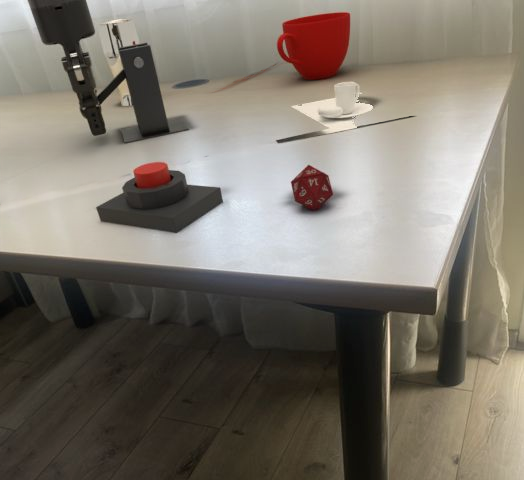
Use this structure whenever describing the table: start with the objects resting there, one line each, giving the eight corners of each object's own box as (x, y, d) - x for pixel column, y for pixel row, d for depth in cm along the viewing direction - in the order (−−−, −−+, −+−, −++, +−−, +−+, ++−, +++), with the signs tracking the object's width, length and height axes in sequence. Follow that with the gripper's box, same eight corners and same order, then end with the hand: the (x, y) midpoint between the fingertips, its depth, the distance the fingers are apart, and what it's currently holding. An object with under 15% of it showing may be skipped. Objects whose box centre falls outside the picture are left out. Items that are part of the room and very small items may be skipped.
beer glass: (154, 101, 109) (134, 16, 100) (154, 108, 103) (133, 18, 94) (120, 108, 108) (97, 22, 100) (119, 115, 103) (94, 25, 94)
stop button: (130, 189, 56) (125, 172, 55) (153, 177, 58) (149, 161, 57) (156, 191, 54) (151, 174, 53) (178, 179, 56) (174, 162, 55)
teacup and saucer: (323, 125, 77) (321, 95, 74) (308, 114, 83) (306, 86, 81) (381, 114, 77) (381, 83, 75) (361, 103, 84) (361, 75, 81)
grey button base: (100, 221, 58) (90, 190, 56) (149, 194, 63) (141, 165, 61) (177, 233, 52) (168, 199, 50) (223, 202, 58) (217, 170, 56)
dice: (298, 219, 51) (294, 178, 49) (291, 202, 55) (287, 164, 52) (336, 213, 51) (334, 171, 49) (327, 196, 55) (325, 157, 52)
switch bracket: (126, 150, 81) (100, 56, 73) (123, 137, 88) (98, 50, 80) (190, 136, 82) (171, 42, 75) (181, 124, 89) (163, 37, 82)
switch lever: (91, 127, 80) (74, 110, 79) (91, 122, 83) (74, 106, 81) (152, 63, 78) (136, 44, 76) (150, 61, 81) (134, 42, 79)
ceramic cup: (260, 87, 106) (253, 29, 100) (317, 68, 114) (314, 13, 108) (307, 90, 98) (302, 27, 92) (365, 69, 106) (364, 10, 100)
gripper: (33, 4, 77) (75, 127, 88) (25, 7, 66) (74, 148, 76) (84, -6, 78) (120, 117, 89) (85, -4, 67) (126, 136, 77)
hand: (99, 131), depth 82 cm, fingers closed on switch lever, 3 cm apart
